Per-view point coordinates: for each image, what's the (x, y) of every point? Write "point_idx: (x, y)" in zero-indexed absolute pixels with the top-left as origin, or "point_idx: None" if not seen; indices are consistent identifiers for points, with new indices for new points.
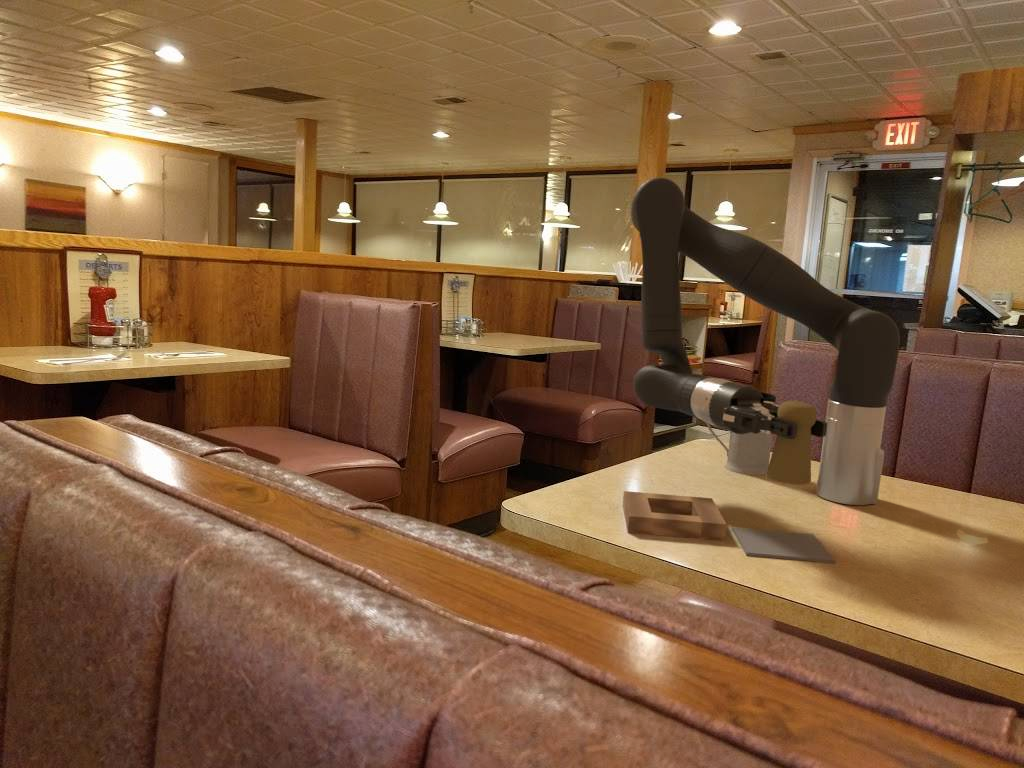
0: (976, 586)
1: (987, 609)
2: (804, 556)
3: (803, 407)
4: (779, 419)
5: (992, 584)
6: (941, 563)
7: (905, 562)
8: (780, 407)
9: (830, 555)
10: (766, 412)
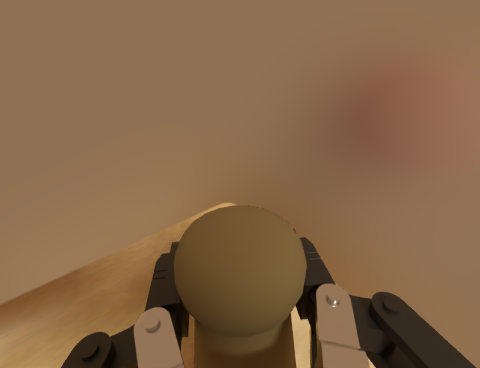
0: (121, 269)
1: (165, 241)
2: None
3: (252, 207)
4: (312, 264)
5: (100, 270)
6: (79, 319)
7: (118, 329)
8: (303, 260)
9: None
10: (333, 343)
